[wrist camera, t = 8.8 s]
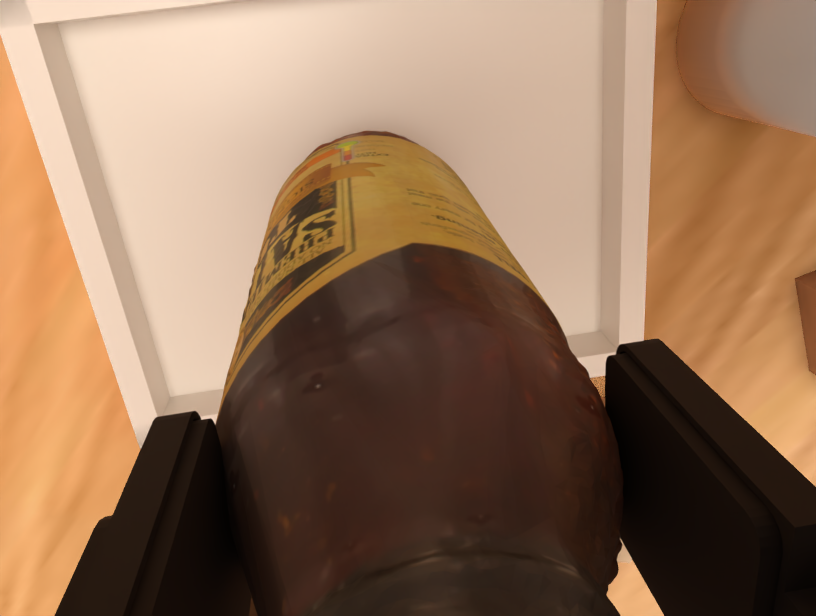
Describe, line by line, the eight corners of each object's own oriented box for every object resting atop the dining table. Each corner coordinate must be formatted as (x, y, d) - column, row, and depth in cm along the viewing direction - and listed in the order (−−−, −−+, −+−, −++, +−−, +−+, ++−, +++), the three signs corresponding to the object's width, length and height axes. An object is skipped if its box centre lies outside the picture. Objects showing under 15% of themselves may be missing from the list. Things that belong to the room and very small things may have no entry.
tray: (626, -77, 22) (660, -88, 20) (617, 342, 29) (642, 369, 27) (22, -7, 21) (-15, -10, 19) (155, 413, 28) (140, 448, 25)
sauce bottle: (291, 102, 20) (-170, 1162, 1) (490, 150, 21) (1615, 1047, 3) (256, 303, 22) (-83, 1659, 4) (436, 335, 23) (834, 1475, 5)
